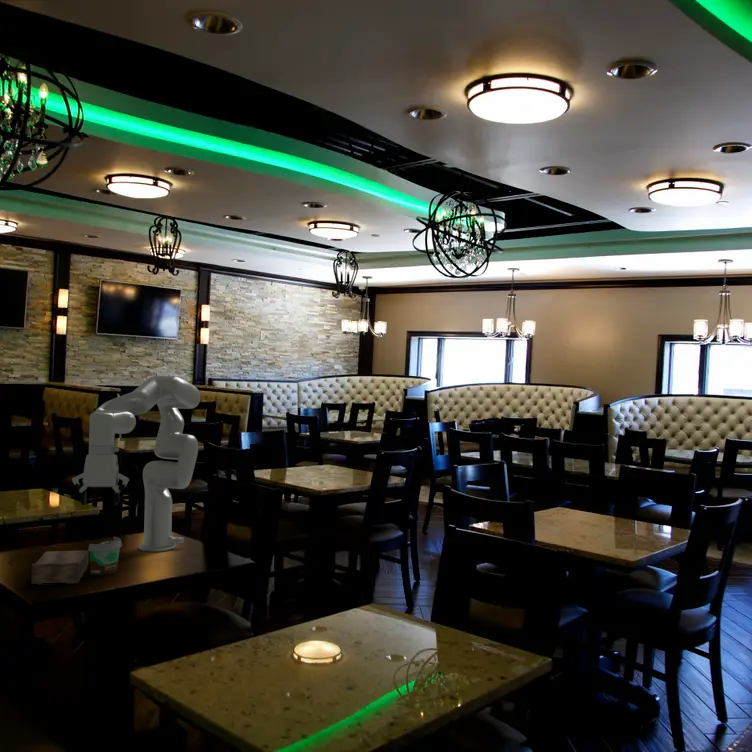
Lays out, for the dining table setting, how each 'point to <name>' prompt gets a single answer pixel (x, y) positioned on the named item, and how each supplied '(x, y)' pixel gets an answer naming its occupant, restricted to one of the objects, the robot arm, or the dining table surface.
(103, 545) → the food container
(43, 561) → the brown rectangular block
